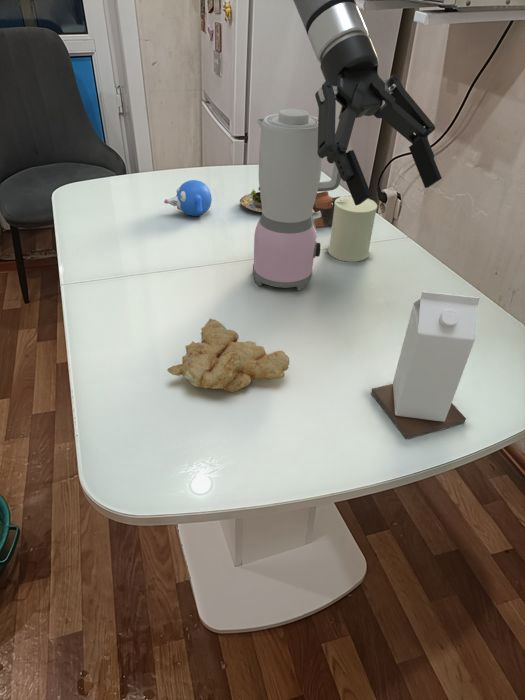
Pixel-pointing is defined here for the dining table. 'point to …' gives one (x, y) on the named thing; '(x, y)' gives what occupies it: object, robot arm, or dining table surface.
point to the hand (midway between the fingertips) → (400, 192)
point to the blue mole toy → (192, 198)
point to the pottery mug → (324, 209)
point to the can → (351, 229)
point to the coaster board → (414, 425)
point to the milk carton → (434, 354)
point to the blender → (288, 199)
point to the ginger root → (228, 360)
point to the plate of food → (252, 201)
